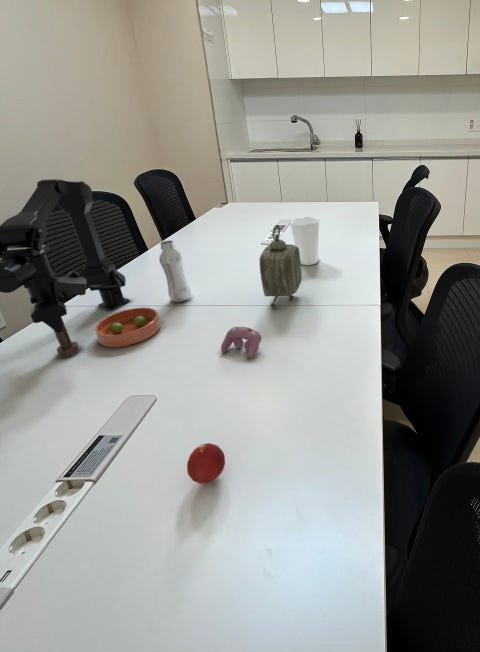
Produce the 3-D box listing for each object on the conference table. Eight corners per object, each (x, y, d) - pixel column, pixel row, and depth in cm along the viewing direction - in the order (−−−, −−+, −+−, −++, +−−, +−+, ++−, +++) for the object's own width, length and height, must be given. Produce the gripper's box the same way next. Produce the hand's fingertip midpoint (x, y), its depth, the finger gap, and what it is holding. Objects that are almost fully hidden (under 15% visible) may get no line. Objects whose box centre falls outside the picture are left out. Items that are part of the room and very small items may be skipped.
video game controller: (261, 356, 100) (265, 329, 100) (251, 359, 96) (254, 331, 96) (230, 349, 103) (233, 323, 103) (218, 352, 99) (222, 324, 99)
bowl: (87, 340, 106) (82, 328, 104) (139, 315, 119) (135, 303, 117) (122, 354, 100) (117, 341, 98) (172, 325, 112) (169, 313, 111)
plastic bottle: (184, 305, 124) (169, 246, 116) (165, 303, 125) (149, 245, 117) (196, 296, 129) (183, 239, 121) (178, 294, 131) (164, 238, 123)
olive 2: (133, 327, 111) (130, 318, 110) (142, 322, 113) (140, 313, 112) (139, 329, 110) (137, 320, 108) (149, 324, 112) (146, 315, 111)
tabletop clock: (277, 290, 132) (268, 219, 122) (304, 289, 132) (296, 218, 122) (266, 311, 119) (254, 233, 109) (295, 310, 118) (286, 233, 108)
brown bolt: (55, 355, 100) (35, 308, 95) (73, 346, 104) (55, 300, 98) (65, 359, 98) (45, 311, 93) (83, 350, 102) (65, 303, 96)
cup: (327, 260, 156) (324, 219, 149) (311, 269, 148) (306, 226, 141) (306, 255, 161) (302, 215, 154) (289, 263, 154) (284, 222, 147)
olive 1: (109, 334, 108) (106, 325, 107) (120, 328, 110) (117, 319, 109) (116, 336, 106) (113, 327, 105) (126, 331, 109) (123, 322, 108)
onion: (198, 465, 68) (189, 431, 65) (232, 462, 69) (224, 429, 66) (187, 496, 63) (176, 461, 60) (223, 492, 63) (214, 457, 60)
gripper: (81, 276, 90) (101, 333, 96) (75, 255, 103) (94, 306, 109) (19, 291, 83) (45, 351, 90) (21, 265, 97) (44, 319, 103)
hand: (60, 329), depth 98 cm, fingers closed on brown bolt, 2 cm apart
